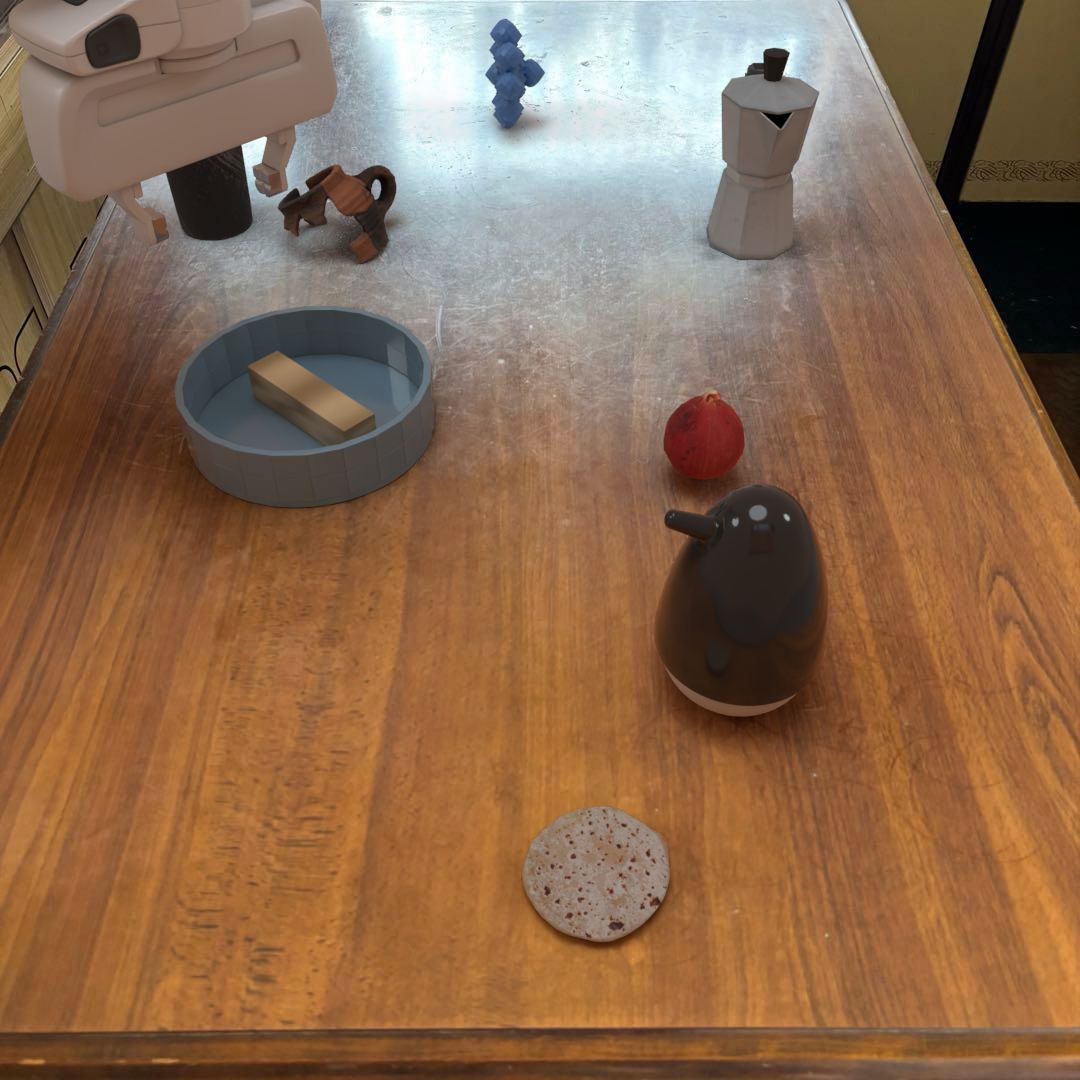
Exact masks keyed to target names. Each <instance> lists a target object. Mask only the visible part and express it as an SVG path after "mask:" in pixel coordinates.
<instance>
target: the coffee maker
mask: <svg viewBox="0 0 1080 1080" xmlns="http://www.w3.org/2000/svg"><path fill="white" fill-rule="evenodd" d="M790 55H791V52H789V51H788V50H787V49H785V48H780V47H769V48H765V49H764V51H762V59H763V62H752V63H751V64H749V65H748V66H747V69H746V72H744V75H743V76H738V77H733V78H730V80H729V82H728V83H727V84H726V86H725V87H724V89H722V91H721V160H722V161H723V162H724V163H725V164H726V167H724V168H723V170H722V174H721V177H720V181H719V184H718V187H717V190H716V194H715V198H714V201H713V203H712V208H711V212H710V215H709V219H708V221H707V226H706V228H705V230H706V236H707V241H708V244H709V247H710V248H712V249H714V250H716V251H718V252H720V253H723V254H725V255H727V256H730V257H732V258H734V259H735V260H773V259H775V258H777V257H778V256H780V255H782V254H783V253H785V252H786V251H788V250H789V249H792V248H793V247H794V231H793V230H794V179H793V175H792V172H793V170H794V167H795V165H796V164H797V163H798V161H799V160H800V157H801V153H802V150H803V146H804V145H805V141H806V137H807V134H808V130H809V127H810V124H811V121H812V117H813V115H814V112H815V108H816V105H817V102H818V98H819V95H820V91H819V90H817V89H815V88H814V87H813V86H811V85H810V84H808V83H807V82H806V81H804V80H802V79H801V78H799V77H791V76H785V75H784V72H785V70H786V66H787V63H788V60H789V57H790Z"/></svg>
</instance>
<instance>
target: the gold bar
mask: <svg viewBox="0 0 1080 1080" xmlns="http://www.w3.org/2000/svg"><path fill="white" fill-rule="evenodd" d="M247 369H248V373H249V378H250V382H251V387H252V391H253V396H254V397H255V398H257V399H258V400H260V401H261V402H263V403H264V404H265V405H267V406H268V407H270V408H271V409H273V410H274V411H276V412H277V413H278V414H280V415H281V416H283V417H284V418H286V419H287V420H288V421H290V422H291V423H293V424H294V425H296V426H297V427H299V428H300V429H301V430H303V431H304V432H306V433H307V434H309V435H310V436H312V437H313V438H314V439H316V440H317V441H319V442H320V443H322V444H323V445H325V446H331V445H336V444H341V443H343V442H346V441H349V440H352V439H354V438H357V437H360V436H363V435H365V434H368V433H371V432H372V431H374V430H376V422H375V414H374V413H373V412H371V411H370V410H368V409H367V408H365V407H364V406H362V405H361V404H359V403H358V402H356V401H354V400H353V399H351V398H350V397H348V396H347V395H345V394H344V393H342V392H341V391H339V390H337V389H336V388H334V387H333V386H331V385H330V384H328V383H327V382H325V381H324V380H322V379H320V378H319V377H317V376H316V375H314V374H313V373H311V372H310V371H308V370H307V369H305V368H303V367H302V366H300V365H299V364H297V363H296V362H294V361H293V360H291V359H290V358H288V357H286V356H285V355H283V354H282V353H280V352H279V351H275V352H274V353H272V354H270V355H268V356H266V357H264V358H262V359H260V360H258V361H256V362H254V363H252V364H250V365H248V366H247Z"/></svg>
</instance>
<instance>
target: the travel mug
mask: <svg viewBox="0 0 1080 1080" xmlns="http://www.w3.org/2000/svg"><path fill="white" fill-rule="evenodd" d="M165 176H166V180H167V183H168V186H169V190H170V193H171V197H172V200H173V204H174V207H175V211H176V215H177V218H178V221H179V225H180V227H181V229H182V232H183V233H184V234H185V235H187V236H189V237H190V238H194V239H197V240H203V241H216V240H225V239H229V238H232V237H236V236H238V235H240V234H242V233H244V232H245V231H247V230H248V229H249V228H250V227H251V225H252V224H253V219H254V217H253V208H252V200H251V196H250V188H249V184H248V183H249V182H248V177H247V170H246V163H245V157H244V151H243V146H242V145H240V146H237V147H234V148H232V149H229V150H226V151H224V152H221V153H218V154H215V155H213V156H210V157H207V158H205V159H202V160H199V161H196V162H194V163H191V164H188V165H185V166H183V167H180V168H177V169H175V170H172V171H169V172H166V173H165Z"/></svg>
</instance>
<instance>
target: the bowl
mask: <svg viewBox="0 0 1080 1080" xmlns="http://www.w3.org/2000/svg"><path fill="white" fill-rule="evenodd" d="M275 351H279V352H280V353H282V354H283V355H285V356H286V357H288V358H290V359H291V360H293V361H294V362H296V363H297V364H299V365H300V366H302V367H303V368H305V369H307V370H308V371H310V372H311V373H313V374H314V375H316V376H317V377H319V378H320V379H322V380H324V381H325V382H327V383H328V384H330V385H331V386H333V387H334V388H336V389H337V390H339V391H341V392H342V393H344V394H345V395H347V396H348V397H350V398H351V399H353V400H354V401H356V402H358V403H359V404H361V405H362V406H364V407H365V408H367V409H368V410H370V411H371V412H373V413H374V414H375V422H376V430H374V431H372V432H371V433H368V434H365V435H363V436H360V437H357V438H354V439H352V440H349V441H346V442H343V443H341V444H336V445H331V446H325V445H323V444H322V443H320V442H319V441H317V440H316V439H314V438H313V437H312V436H310V435H309V434H307V433H306V432H304V431H303V430H301V429H300V428H299V427H297V426H296V425H294V424H293V423H291V422H290V421H288V420H287V419H286V418H284V417H283V416H281V415H280V414H278V413H277V412H276V411H274V410H273V409H271V408H270V407H268V406H267V405H265V404H264V403H263V402H261V401H260V400H258V399H257V398H255V397H254V396H253V391H252V387H251V382H250V378H249V373H248V369H247V366H248V365H250V364H252V363H254V362H256V361H258V360H260V359H262V358H264V357H266V356H268V355H270V354H272V353H274V352H275ZM174 395H175V396H174V398H175V407H176V410H177V414H178V417H179V421H180V423H181V427H182V431H183V434H184V438H185V442H186V445H187V448H188V452H189V454H190V456H191V458H192V460H193V462H194V464H195V466H196V468H197V470H198V471H199V472H200V473H201V475H202V476H203V477H204V478H205V479H206V480H207V481H208V482H210V484H212V486H214V487H216V488H218V489H219V490H220V491H222V492H223V493H226V494H228V495H230V496H232V497H234V498H237V499H240V500H243V501H245V502H249V503H253V504H258V505H261V506H267V507H268V506H269V507H277V508H293V509H294V508H299V509H300V508H315V507H316V508H317V507H323V506H329V505H334V504H339V503H342V502H343V503H344V502H347V501H351V500H354V499H357V498H360V497H364V496H366V495H368V494H371V493H372V492H375V491H378V490H380V489H382V488H383V487H386V486H387V485H389V484H391V483H393V482H394V481H396V480H398V478H400V477H401V476H403V475H404V474H405V473H407V472H408V471H410V469H411V468H412V467H414V465H416V463H417V462H418V461H419V460H420V458H422V456H423V455H424V453H425V452H426V450H427V449H428V447H429V445H430V443H431V440H432V438H433V435H434V431H435V427H436V426H435V425H436V416H435V415H436V401H435V389H434V378H433V366H432V361H431V358H430V356H429V354H428V351H427V349H426V346H425V344H424V343H423V342H422V341H421V340H420V339H419V338H418V337H417V336H416V335H415V334H414V332H412V330H410V329H409V328H407V327H406V326H404V325H402V324H400V323H399V322H397V321H396V320H393V319H392V318H390V317H387V316H384V315H381V314H378V313H375V312H372V311H368V310H366V309H361V308H353V307H347V306H340V305H339V306H337V305H305V306H304V305H303V306H297V307H290V308H284V309H278V310H273V311H268V312H264V313H261V314H258V315H255V316H251V317H249V318H246V319H243V320H241V321H238V322H236V323H234V324H232V325H230V326H228V327H226V328H224V329H221V330H220V331H218V332H216V333H215V334H213V335H212V336H211V337H210V338H208V339H207V340H206V341H204V342H203V343H202V344H201V345H199V346H197V348H196V349H194V351H193V352H192V353H191V354H190V356H189V357H187V359H186V361H185V362H184V363H183V364H182V366H181V367H180V369H179V373H178V375H177V378H176V381H175V384H174Z"/></svg>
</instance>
